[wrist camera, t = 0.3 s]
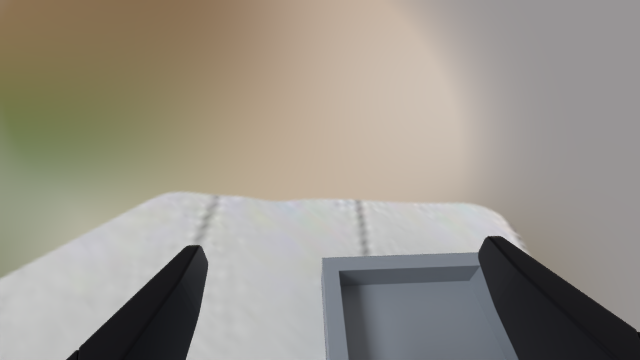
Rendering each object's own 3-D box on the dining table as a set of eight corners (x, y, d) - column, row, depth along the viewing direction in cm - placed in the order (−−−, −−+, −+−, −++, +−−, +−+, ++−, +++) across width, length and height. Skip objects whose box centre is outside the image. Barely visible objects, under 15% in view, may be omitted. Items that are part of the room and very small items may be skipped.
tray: (583, 500, 16) (629, 501, 14) (336, 521, 15) (340, 526, 13) (471, 273, 26) (487, 252, 24) (321, 279, 26) (322, 258, 23)
